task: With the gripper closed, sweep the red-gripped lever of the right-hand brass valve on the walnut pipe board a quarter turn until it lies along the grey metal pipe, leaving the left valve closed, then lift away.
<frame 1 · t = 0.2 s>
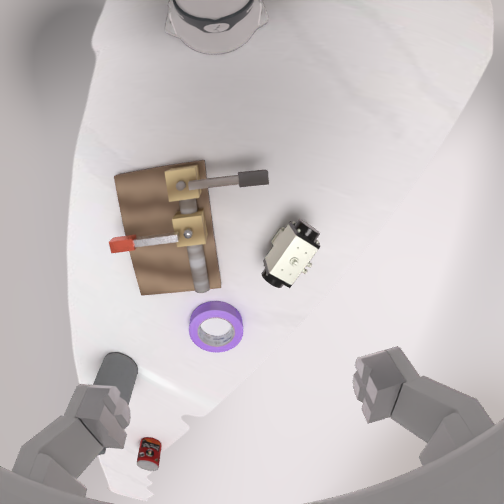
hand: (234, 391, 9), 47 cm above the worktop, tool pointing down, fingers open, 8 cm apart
masking tape: (216, 321, 64), on the worktop
pneumatic valve: (284, 239, 58), on the worktop
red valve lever: (150, 239, 46), point 9 cm above the worktop, hinge at 0.0°
water bottle: (121, 364, 68), on the worktop
canned food: (151, 441, 84), on the worktop
pipe board: (169, 230, 55), on the worktop
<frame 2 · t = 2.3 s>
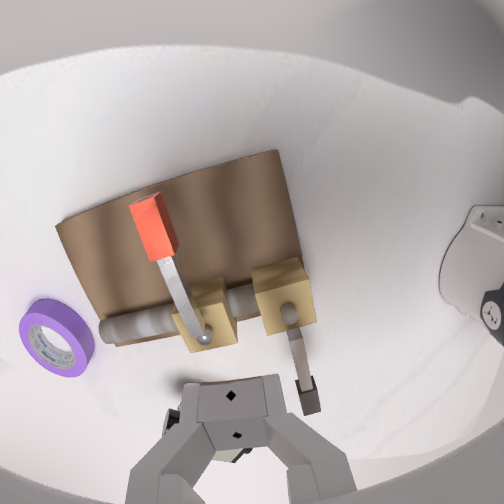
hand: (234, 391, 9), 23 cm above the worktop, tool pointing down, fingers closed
masking tape: (61, 331, 35), on the worktop
pneumatic valve: (208, 392, 40), on the worktop
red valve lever: (177, 281, 23), point 9 cm above the worktop, hinge at 0.0°
pipe board: (181, 257, 32), on the worktop
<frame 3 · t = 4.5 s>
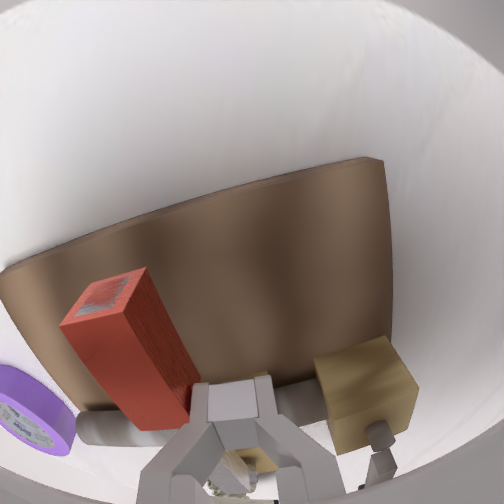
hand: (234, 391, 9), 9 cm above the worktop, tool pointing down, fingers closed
masking tape: (34, 401, 22), on the worktop
pneumatic valve: (229, 470, 27), on the worktop
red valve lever: (201, 435, 10), point 9 cm above the worktop, hinge at 0.5°, touching gripper
pipe board: (195, 336, 18), on the worktop
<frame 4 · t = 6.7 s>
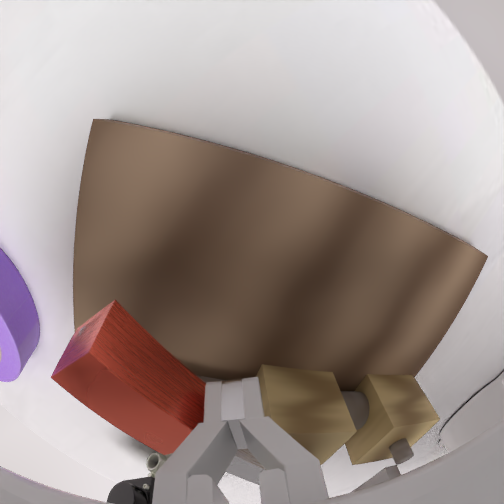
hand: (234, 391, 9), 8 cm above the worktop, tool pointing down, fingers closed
pneumatic valve: (170, 456, 25), on the worktop
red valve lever: (235, 444, 10), point 9 cm above the worktop, hinge at 51.1°, touching gripper
pipe board: (286, 315, 18), on the worktop
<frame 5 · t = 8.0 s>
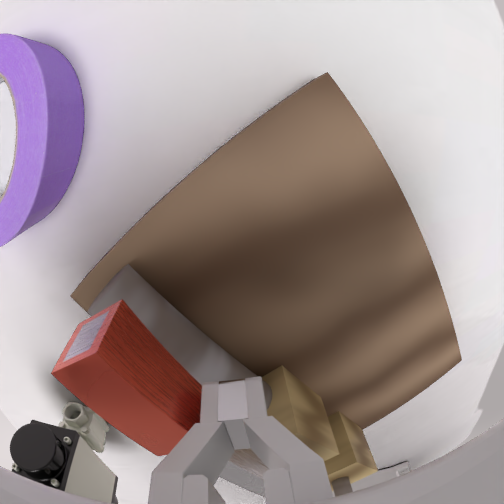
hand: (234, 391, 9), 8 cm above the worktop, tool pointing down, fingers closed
masking tape: (12, 135, 12), on the worktop
pneumatic valve: (85, 411, 21), on the worktop
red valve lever: (226, 448, 10), point 9 cm above the worktop, hinge at 79.6°, touching gripper
pipe board: (316, 331, 18), on the worktop
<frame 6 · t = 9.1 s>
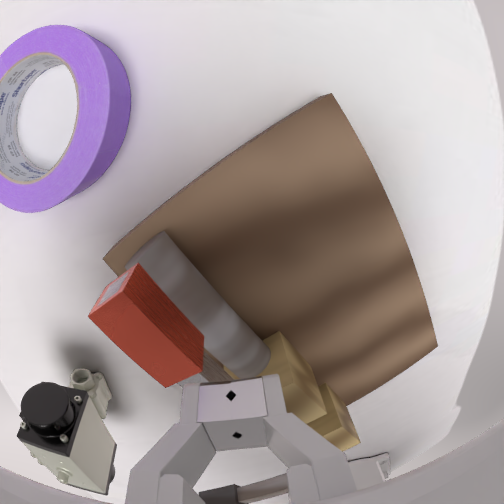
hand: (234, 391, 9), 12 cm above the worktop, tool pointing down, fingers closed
masking tape: (57, 116, 15), on the worktop
pneumatic valve: (90, 379, 24), on the worktop
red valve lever: (221, 388, 13), point 9 cm above the worktop, hinge at 87.7°
pipe board: (308, 305, 22), on the worktop
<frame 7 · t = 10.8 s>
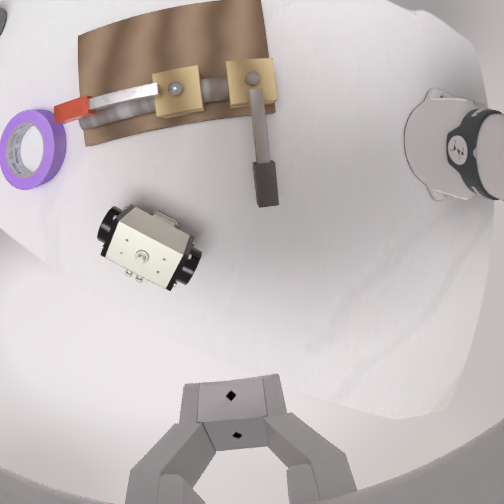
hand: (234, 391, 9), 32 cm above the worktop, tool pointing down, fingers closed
masking tape: (38, 147, 33), on the worktop
pneumatic valve: (161, 227, 40), on the worktop
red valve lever: (115, 99, 25), point 9 cm above the worktop, hinge at 87.7°
pipe board: (170, 66, 31), on the worktop
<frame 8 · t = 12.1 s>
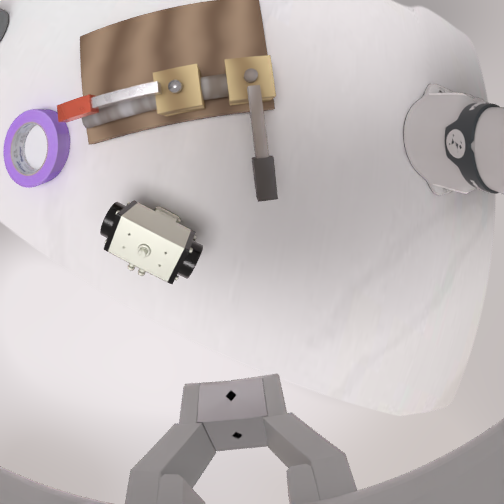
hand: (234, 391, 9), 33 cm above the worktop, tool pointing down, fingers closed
masking tape: (42, 146, 34), on the worktop
pneumatic valve: (163, 223, 40), on the worktop
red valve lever: (117, 97, 25), point 9 cm above the worktop, hinge at 87.7°
pipe board: (170, 65, 32), on the worktop
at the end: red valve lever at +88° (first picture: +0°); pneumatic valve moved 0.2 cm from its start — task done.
